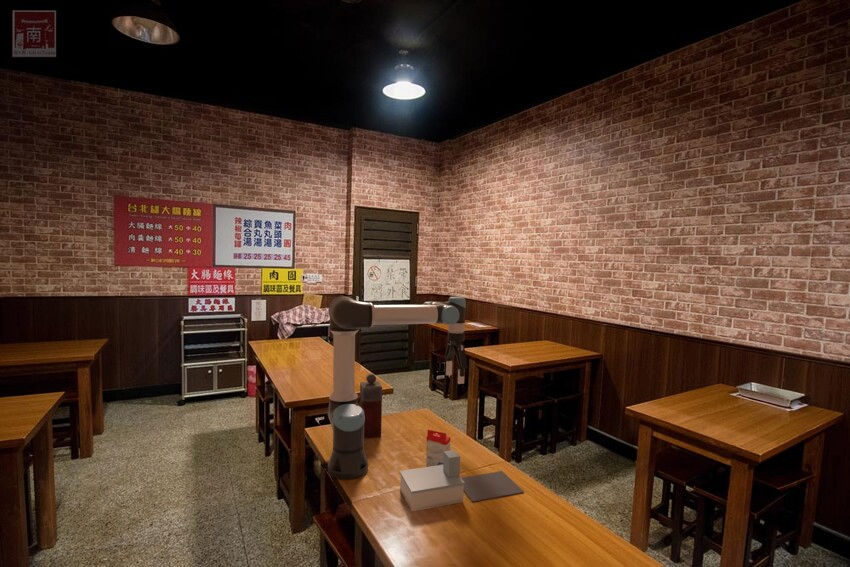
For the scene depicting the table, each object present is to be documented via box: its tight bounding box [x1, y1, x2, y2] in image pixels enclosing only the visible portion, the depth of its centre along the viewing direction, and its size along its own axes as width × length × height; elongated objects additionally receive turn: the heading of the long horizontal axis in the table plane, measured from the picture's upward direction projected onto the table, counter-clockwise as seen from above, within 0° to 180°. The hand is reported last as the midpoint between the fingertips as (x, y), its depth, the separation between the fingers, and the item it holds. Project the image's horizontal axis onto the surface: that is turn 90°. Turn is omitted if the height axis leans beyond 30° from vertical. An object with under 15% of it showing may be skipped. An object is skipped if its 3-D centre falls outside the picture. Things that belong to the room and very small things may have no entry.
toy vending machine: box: [359, 372, 383, 440], centre depth 192 cm, size 9×11×28 cm
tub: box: [399, 476, 464, 512], centre depth 142 cm, size 18×13×6 cm
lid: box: [399, 449, 465, 494], centre depth 142 cm, size 19×14×9 cm
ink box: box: [425, 429, 451, 467], centre depth 163 cm, size 8×5×15 cm, turn 65°
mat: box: [461, 470, 525, 503], centre depth 150 cm, size 20×15×1 cm
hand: (454, 379), depth 186 cm, fingers open, 13 cm apart
